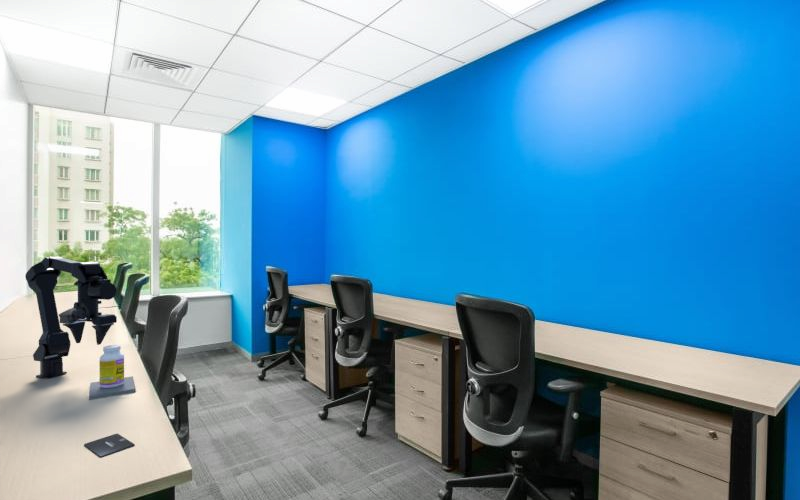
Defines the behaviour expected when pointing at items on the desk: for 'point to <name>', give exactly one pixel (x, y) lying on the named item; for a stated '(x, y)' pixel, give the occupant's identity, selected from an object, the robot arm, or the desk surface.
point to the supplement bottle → (111, 367)
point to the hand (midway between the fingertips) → (88, 343)
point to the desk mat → (111, 389)
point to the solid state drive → (109, 445)
